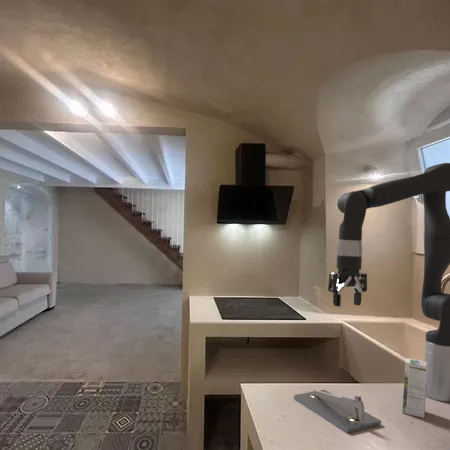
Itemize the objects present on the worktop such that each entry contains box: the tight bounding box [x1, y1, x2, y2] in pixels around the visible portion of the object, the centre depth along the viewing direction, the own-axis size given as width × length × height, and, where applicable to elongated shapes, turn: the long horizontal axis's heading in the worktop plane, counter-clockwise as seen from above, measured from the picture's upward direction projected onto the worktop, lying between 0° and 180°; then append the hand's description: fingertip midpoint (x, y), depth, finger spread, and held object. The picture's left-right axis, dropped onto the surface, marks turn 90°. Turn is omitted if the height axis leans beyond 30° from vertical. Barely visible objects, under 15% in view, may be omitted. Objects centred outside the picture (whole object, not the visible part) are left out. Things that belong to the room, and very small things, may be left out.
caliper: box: [309, 389, 365, 421], centre depth 112 cm, size 20×1×6 cm, turn 28°
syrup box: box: [402, 358, 428, 419], centre depth 114 cm, size 6×6×14 cm
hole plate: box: [293, 389, 382, 434], centre depth 112 cm, size 12×22×1 cm, turn 27°
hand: (347, 305), depth 124 cm, fingers open, 8 cm apart
